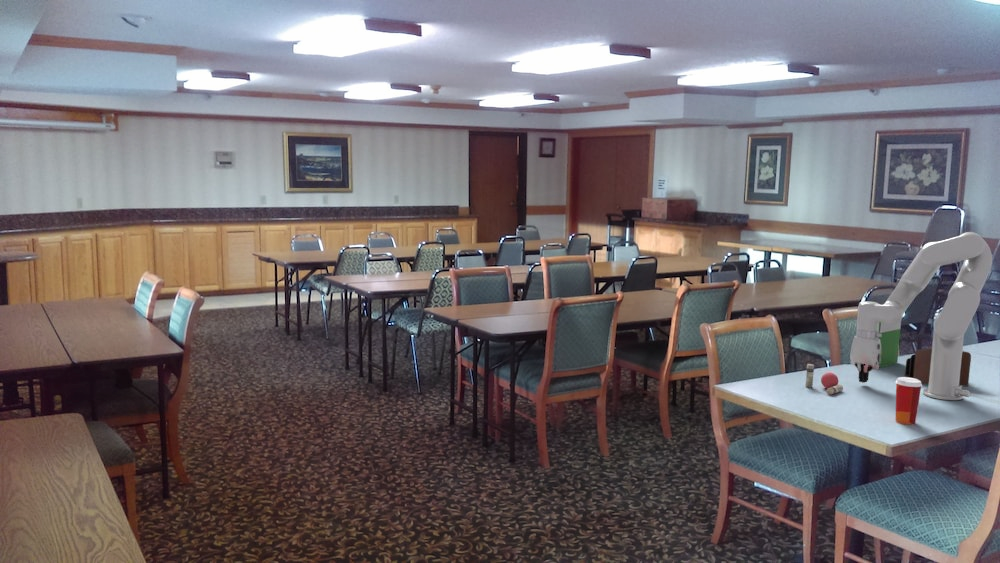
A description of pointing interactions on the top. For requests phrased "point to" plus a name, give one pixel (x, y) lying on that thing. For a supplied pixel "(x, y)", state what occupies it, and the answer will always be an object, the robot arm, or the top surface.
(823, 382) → the ball
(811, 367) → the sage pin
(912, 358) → the letter holder
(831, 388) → the ivory pin
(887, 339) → the hardback book
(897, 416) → the paper cup
